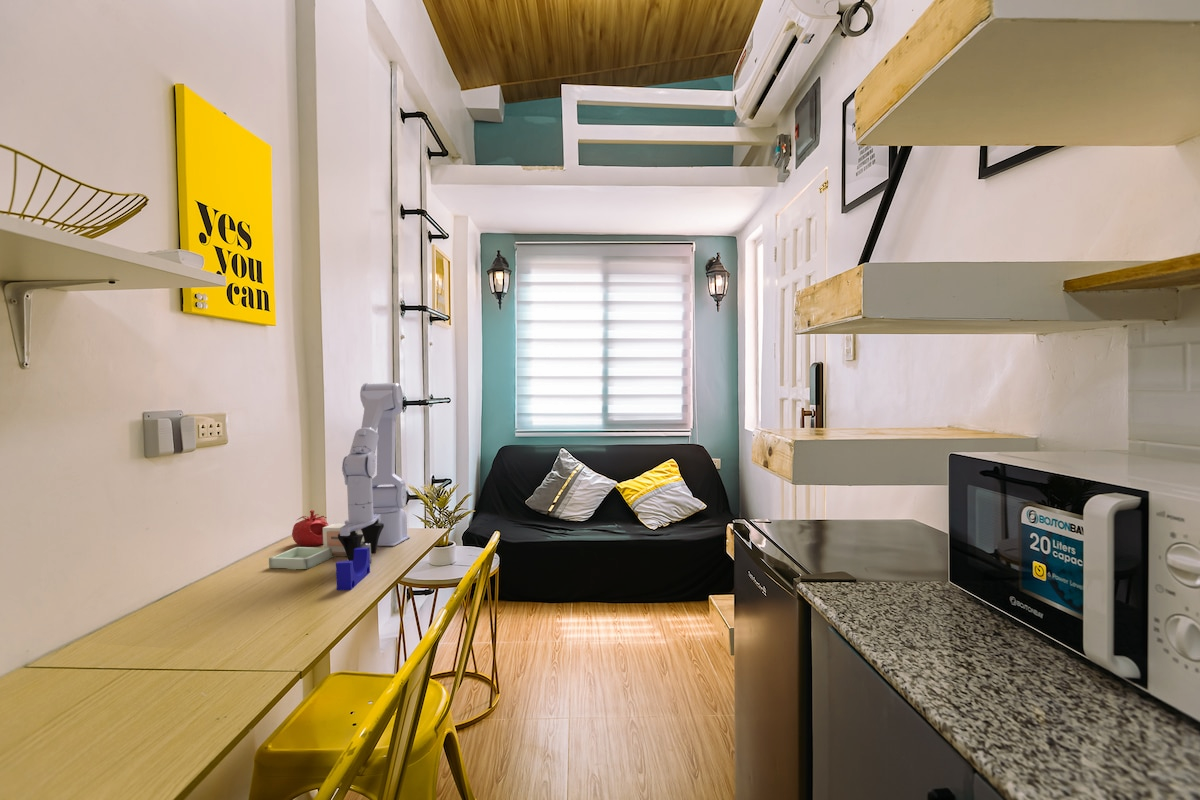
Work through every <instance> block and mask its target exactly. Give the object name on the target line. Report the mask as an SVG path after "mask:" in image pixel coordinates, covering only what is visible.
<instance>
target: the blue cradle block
mask: <svg viewBox="0 0 1200 800" xmlns="http://www.w3.org/2000/svg"><path fill="white" fill-rule="evenodd" d="M370 573H371V564H370V554H369V547H367V548H355V549H354V558H353V561H348V560H338V561H337V562H336V563H335V575H336V577H335V579H336V591H337V590H338V591H352V590H353V589H354V588H355V587H356V586H357V585H358V584H359V583H360V582H361V581H363V580H364V579H365V578H366V577H367V576H368V575H369V574H370Z"/></svg>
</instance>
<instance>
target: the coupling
mask: <svg viewBox="0 0 1200 800" xmlns="http://www.w3.org/2000/svg"><path fill="white" fill-rule="evenodd" d="M367 547H369V554H370V565H371V564H372V562H373V561H372V554H371V542H368V541H363V542H361V544H360V548H367Z"/></svg>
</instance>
